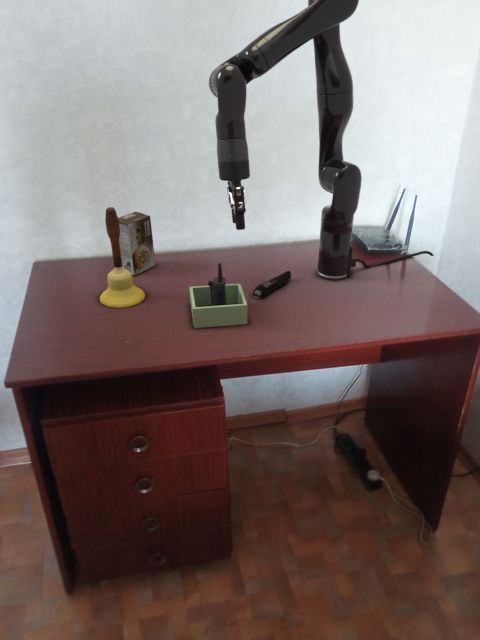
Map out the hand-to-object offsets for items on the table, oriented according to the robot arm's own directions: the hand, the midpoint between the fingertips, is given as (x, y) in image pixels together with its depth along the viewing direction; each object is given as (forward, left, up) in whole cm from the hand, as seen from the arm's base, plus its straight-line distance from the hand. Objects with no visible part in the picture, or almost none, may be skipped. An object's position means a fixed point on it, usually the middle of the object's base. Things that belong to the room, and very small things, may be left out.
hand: (238, 226), depth 139 cm
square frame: (+6, +6, -22) cm, 23 cm away
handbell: (+31, -8, -22) cm, 39 cm away
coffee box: (+27, -27, -22) cm, 44 cm away
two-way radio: (+6, +6, -22) cm, 24 cm away
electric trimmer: (-11, -7, -22) cm, 25 cm away
